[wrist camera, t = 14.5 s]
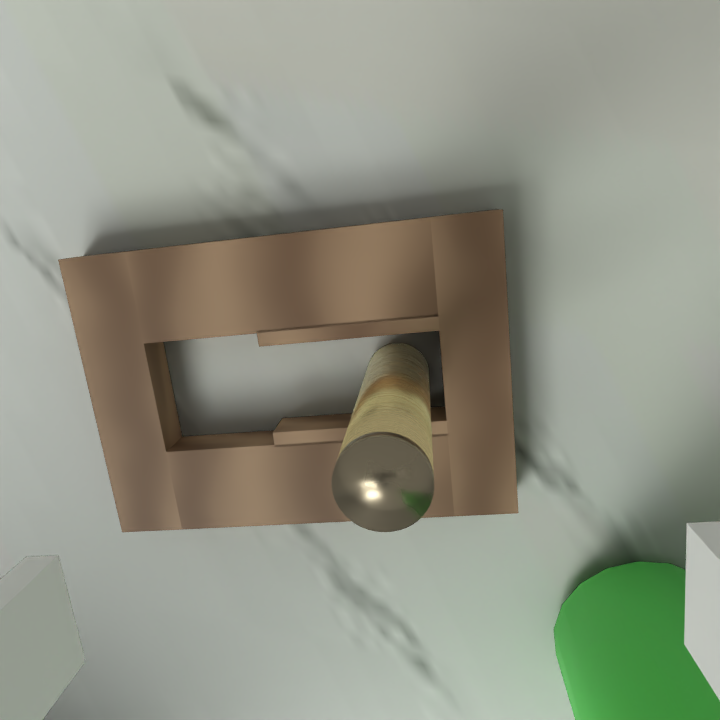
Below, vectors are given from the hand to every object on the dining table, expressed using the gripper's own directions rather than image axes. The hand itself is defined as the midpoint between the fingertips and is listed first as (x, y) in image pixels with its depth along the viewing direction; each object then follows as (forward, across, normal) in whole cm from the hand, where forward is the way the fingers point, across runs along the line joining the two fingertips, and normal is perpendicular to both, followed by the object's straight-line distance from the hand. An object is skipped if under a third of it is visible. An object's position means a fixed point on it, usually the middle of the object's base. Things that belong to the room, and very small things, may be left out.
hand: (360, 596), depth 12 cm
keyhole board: (+17, -4, 0) cm, 18 cm away
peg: (+17, 0, 0) cm, 17 cm away
